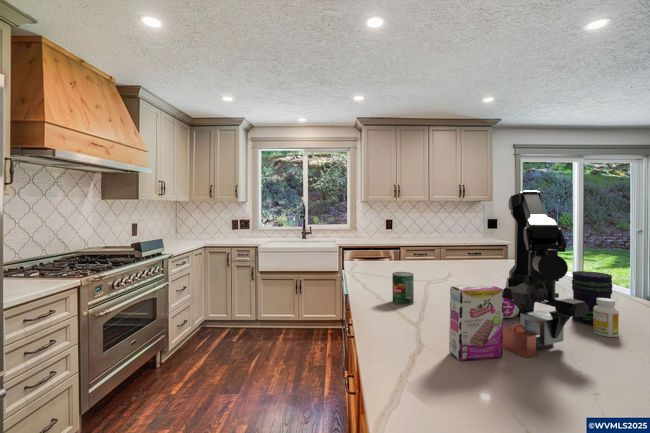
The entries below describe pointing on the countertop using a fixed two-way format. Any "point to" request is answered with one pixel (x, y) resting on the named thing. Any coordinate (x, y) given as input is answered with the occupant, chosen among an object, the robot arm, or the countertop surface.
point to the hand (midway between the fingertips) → (541, 333)
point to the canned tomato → (403, 288)
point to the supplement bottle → (605, 318)
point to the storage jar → (590, 291)
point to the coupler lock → (540, 326)
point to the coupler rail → (521, 341)
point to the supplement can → (509, 309)
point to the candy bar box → (476, 322)
